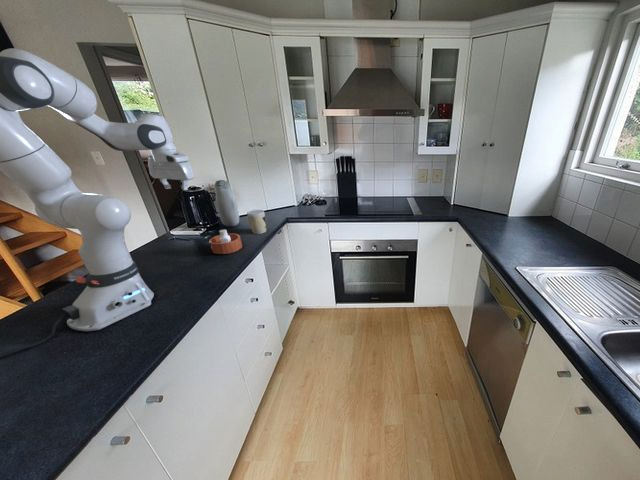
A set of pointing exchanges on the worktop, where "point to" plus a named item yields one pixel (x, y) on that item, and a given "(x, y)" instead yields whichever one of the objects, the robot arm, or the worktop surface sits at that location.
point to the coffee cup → (257, 221)
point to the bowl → (226, 244)
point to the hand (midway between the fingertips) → (176, 189)
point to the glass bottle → (226, 204)
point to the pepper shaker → (224, 236)
